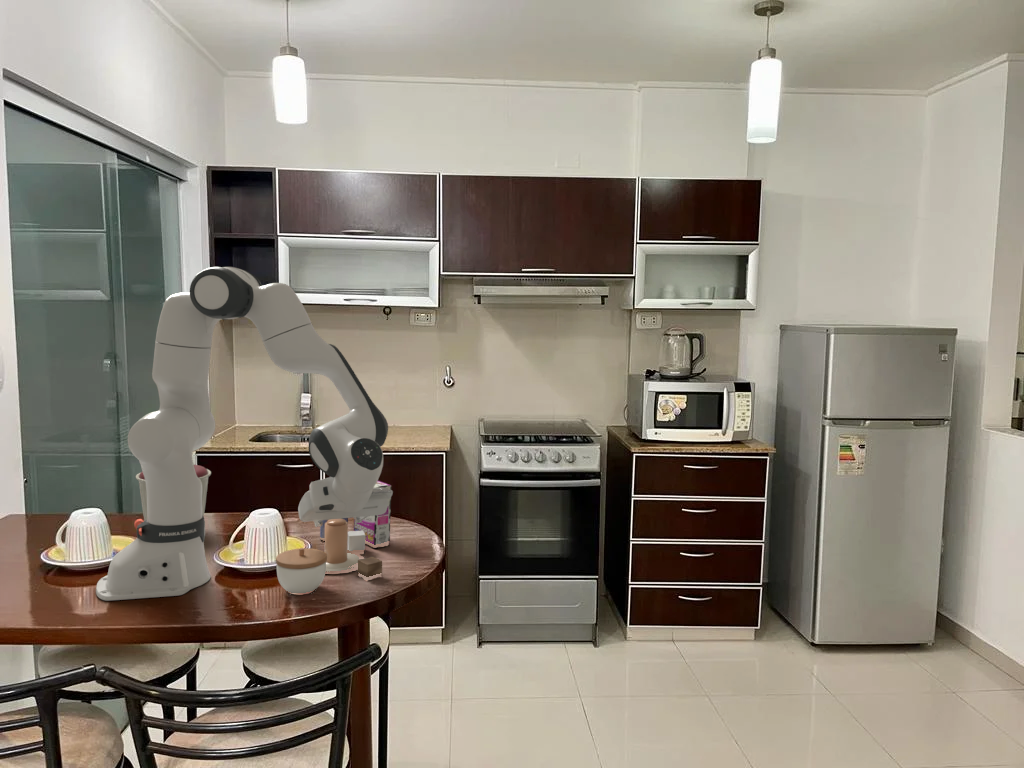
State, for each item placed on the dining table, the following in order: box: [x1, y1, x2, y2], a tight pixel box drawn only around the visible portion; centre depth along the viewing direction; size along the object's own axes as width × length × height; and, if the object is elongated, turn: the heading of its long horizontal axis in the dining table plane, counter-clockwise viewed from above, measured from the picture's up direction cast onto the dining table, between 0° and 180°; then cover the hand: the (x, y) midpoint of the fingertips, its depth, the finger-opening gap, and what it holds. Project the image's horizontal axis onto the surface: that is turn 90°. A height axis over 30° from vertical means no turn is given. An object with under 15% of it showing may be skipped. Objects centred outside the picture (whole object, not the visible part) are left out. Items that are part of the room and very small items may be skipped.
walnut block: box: [357, 556, 383, 577], centre depth 168 cm, size 4×4×4 cm
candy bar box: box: [353, 480, 392, 545], centre depth 192 cm, size 11×5×16 cm, turn 42°
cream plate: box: [326, 553, 360, 572], centre depth 175 cm, size 14×14×1 cm
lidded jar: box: [275, 547, 327, 593], centre depth 158 cm, size 11×11×9 cm
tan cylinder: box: [323, 519, 349, 564], centre depth 175 cm, size 5×5×10 cm
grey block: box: [348, 530, 366, 551], centre depth 185 cm, size 4×4×5 cm
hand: (337, 522), depth 173 cm, fingers open, 8 cm apart
